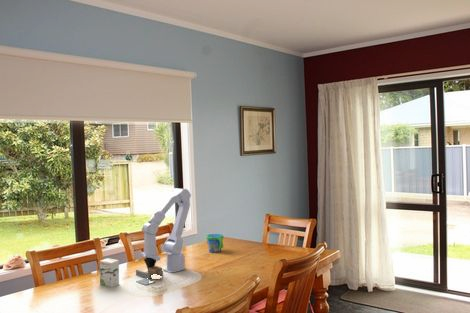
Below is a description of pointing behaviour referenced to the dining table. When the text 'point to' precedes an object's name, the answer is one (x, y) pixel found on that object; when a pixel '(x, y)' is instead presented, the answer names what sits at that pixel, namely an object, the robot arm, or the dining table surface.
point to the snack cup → (215, 242)
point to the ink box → (109, 272)
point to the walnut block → (155, 270)
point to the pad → (144, 281)
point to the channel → (144, 274)
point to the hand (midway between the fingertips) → (150, 272)
